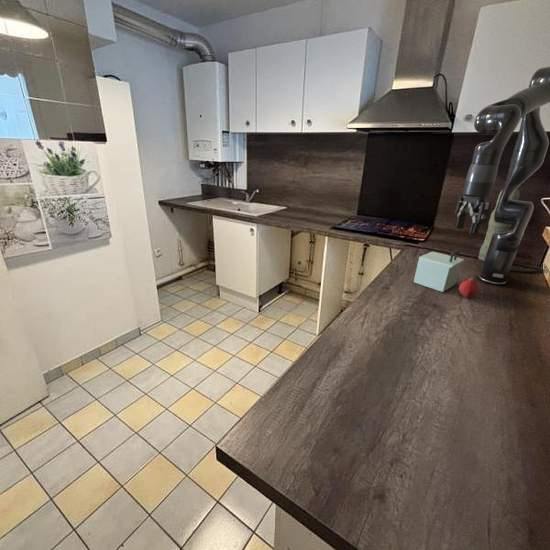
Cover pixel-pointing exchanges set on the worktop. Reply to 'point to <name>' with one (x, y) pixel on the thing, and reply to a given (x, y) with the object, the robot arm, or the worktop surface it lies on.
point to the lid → (443, 258)
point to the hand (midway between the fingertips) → (465, 231)
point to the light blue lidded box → (436, 275)
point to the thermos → (494, 228)
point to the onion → (468, 288)
